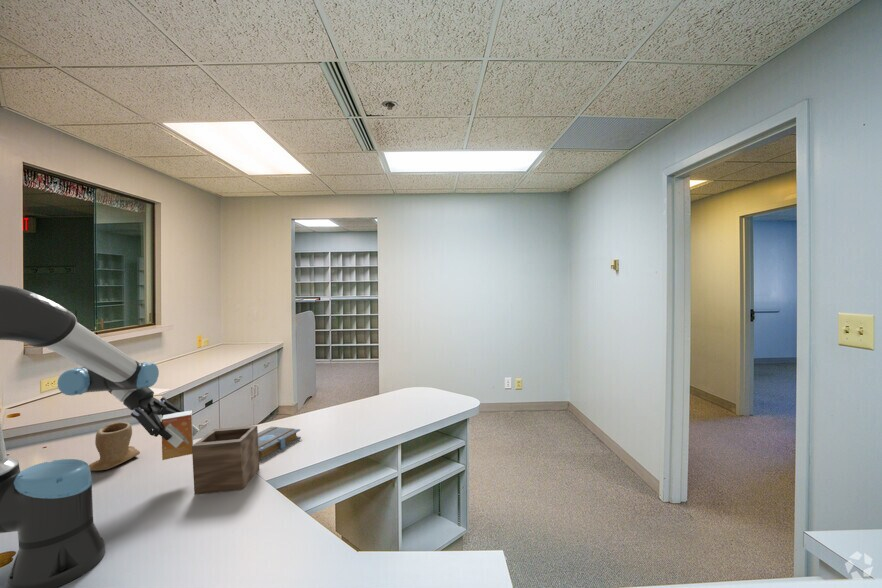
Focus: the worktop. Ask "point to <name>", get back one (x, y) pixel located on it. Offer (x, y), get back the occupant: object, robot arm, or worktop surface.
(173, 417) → the small box
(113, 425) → the stone cup
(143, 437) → the worktop surface
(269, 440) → the book
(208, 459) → the open wooden box
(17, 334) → the robot arm
